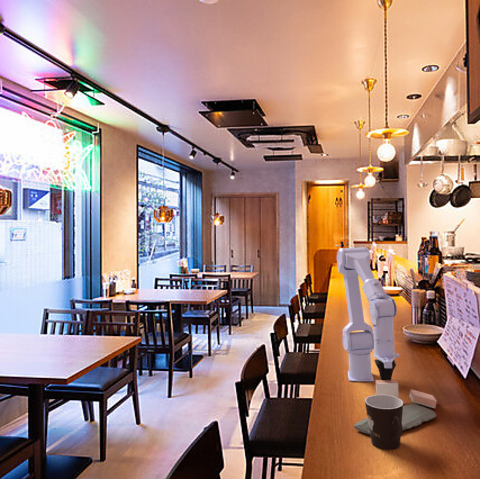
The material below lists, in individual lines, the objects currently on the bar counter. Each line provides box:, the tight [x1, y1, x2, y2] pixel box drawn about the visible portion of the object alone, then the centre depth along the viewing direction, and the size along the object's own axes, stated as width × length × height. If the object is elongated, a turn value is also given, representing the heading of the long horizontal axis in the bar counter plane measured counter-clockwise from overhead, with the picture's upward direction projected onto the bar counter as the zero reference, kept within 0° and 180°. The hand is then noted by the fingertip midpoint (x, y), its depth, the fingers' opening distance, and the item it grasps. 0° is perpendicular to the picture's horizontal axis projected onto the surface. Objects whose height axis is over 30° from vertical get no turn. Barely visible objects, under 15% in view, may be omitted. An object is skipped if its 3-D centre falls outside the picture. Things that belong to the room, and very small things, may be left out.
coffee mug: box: [364, 394, 404, 451], centre depth 103 cm, size 12×9×10 cm
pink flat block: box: [409, 388, 438, 409], centre depth 125 cm, size 2×6×6 cm
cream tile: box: [375, 379, 400, 399], centre depth 129 cm, size 2×6×6 cm, turn 80°
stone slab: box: [353, 403, 437, 435], centre depth 114 cm, size 22×3×10 cm
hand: (386, 385), depth 130 cm, fingers closed
